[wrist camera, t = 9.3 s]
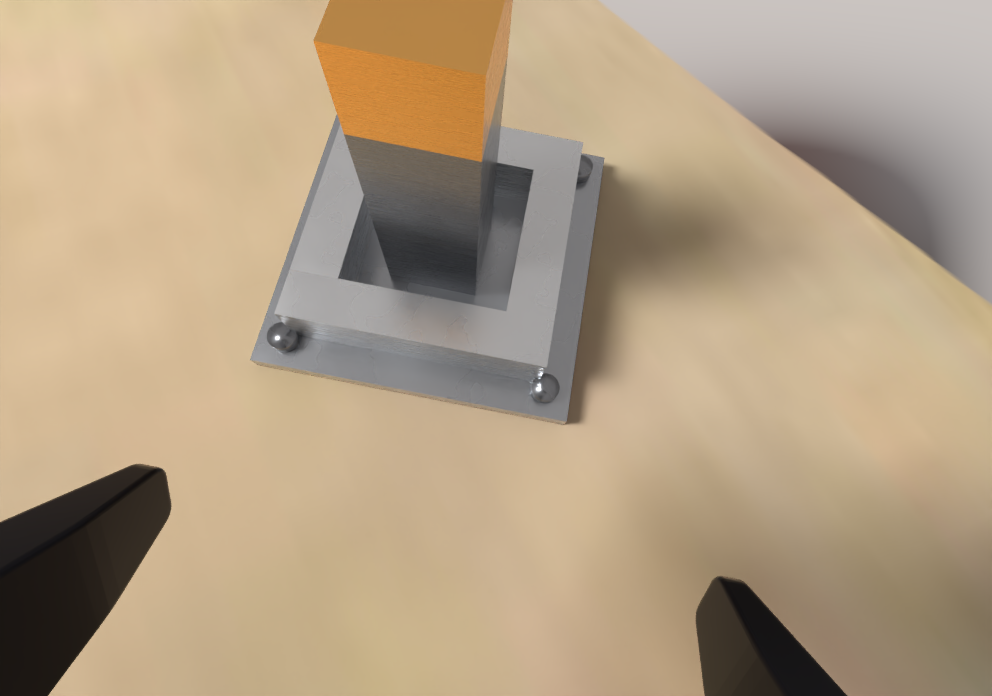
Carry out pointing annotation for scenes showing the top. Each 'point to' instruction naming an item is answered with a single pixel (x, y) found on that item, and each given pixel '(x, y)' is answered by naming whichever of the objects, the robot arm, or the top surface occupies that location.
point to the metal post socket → (438, 312)
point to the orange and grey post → (422, 125)
